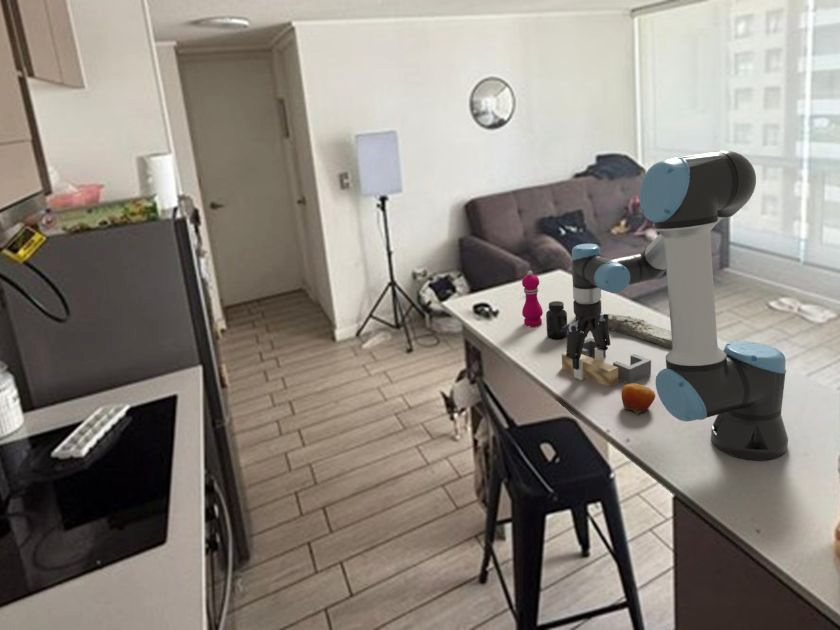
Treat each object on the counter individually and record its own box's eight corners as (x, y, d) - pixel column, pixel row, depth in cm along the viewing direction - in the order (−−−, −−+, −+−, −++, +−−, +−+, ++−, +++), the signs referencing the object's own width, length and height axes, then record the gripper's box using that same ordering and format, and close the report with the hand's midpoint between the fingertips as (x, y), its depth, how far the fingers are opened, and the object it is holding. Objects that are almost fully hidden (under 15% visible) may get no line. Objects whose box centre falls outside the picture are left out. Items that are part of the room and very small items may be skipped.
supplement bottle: (568, 340, 201) (566, 306, 197) (547, 341, 202) (545, 307, 198) (567, 332, 207) (566, 299, 203) (547, 333, 209) (545, 300, 205)
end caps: (650, 374, 172) (651, 360, 170) (629, 383, 168) (629, 369, 166) (591, 351, 191) (591, 338, 189) (571, 359, 187) (570, 345, 186)
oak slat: (618, 383, 169) (618, 367, 168) (609, 387, 168) (609, 371, 166) (570, 365, 184) (569, 349, 182) (562, 368, 182) (561, 353, 181)
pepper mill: (521, 327, 216) (518, 274, 209) (524, 320, 223) (520, 268, 216) (542, 327, 214) (539, 273, 207) (544, 320, 220) (541, 267, 214)
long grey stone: (678, 359, 182) (699, 351, 187) (680, 343, 180) (701, 335, 185) (591, 324, 210) (611, 318, 215) (592, 310, 209) (612, 304, 213)
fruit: (611, 408, 154) (619, 378, 154) (624, 411, 160) (632, 382, 160) (641, 417, 148) (649, 386, 149) (654, 420, 154) (661, 389, 154)
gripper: (603, 288, 176) (604, 359, 183) (549, 306, 167) (553, 380, 174) (623, 293, 169) (624, 367, 177) (569, 312, 161) (572, 389, 168)
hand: (589, 373), depth 176 cm, fingers open, 7 cm apart
